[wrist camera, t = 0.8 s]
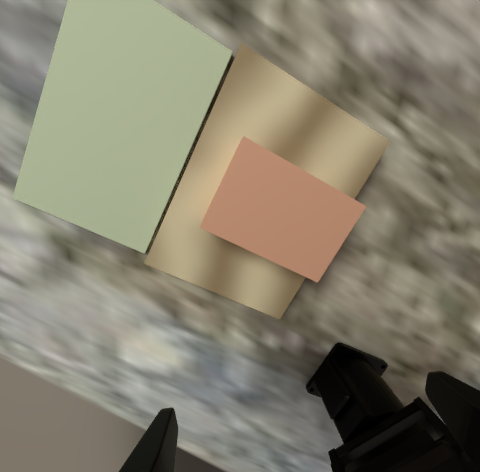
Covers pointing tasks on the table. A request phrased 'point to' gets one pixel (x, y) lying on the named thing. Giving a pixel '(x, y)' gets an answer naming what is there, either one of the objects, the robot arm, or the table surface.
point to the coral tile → (280, 211)
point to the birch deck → (280, 143)
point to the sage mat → (118, 116)
